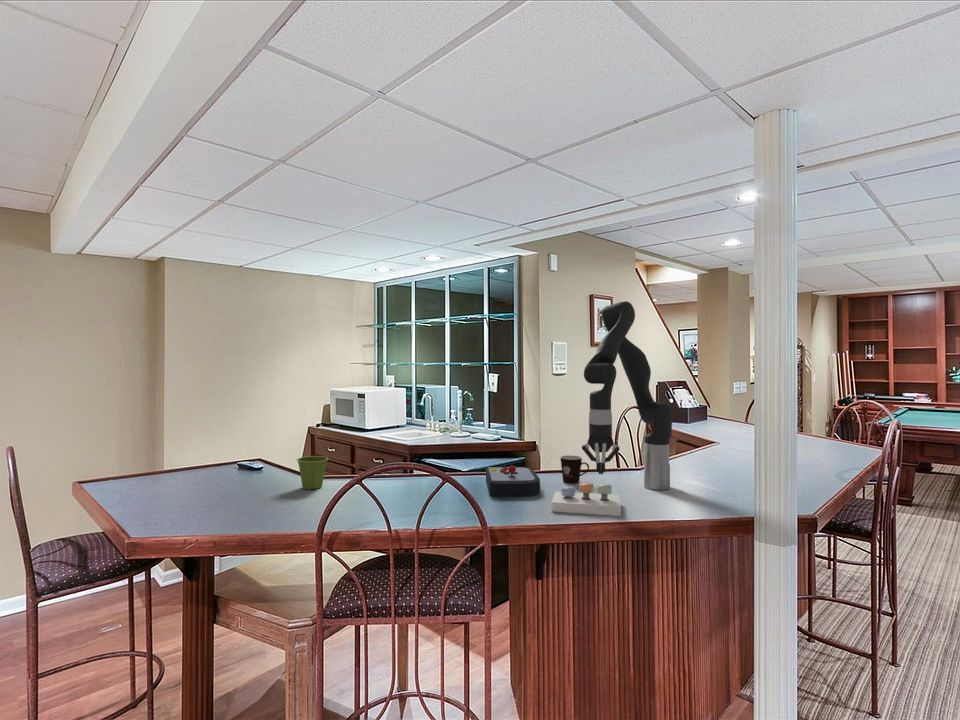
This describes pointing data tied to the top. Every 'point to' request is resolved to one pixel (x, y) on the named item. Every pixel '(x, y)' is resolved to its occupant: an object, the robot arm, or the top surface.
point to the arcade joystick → (512, 482)
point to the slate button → (568, 491)
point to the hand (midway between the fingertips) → (600, 473)
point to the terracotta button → (586, 489)
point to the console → (587, 504)
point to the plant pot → (312, 471)
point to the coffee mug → (571, 468)
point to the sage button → (604, 491)
